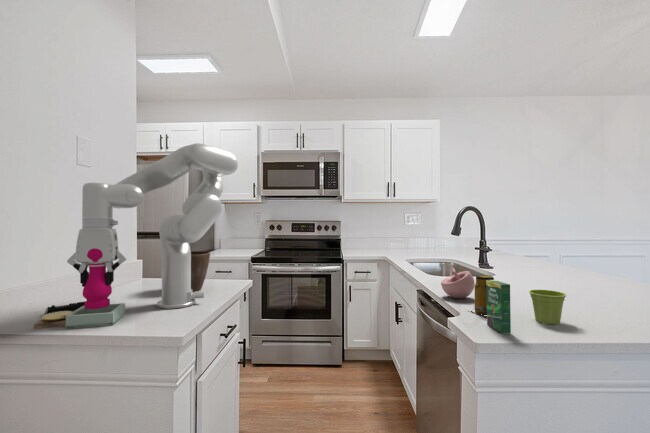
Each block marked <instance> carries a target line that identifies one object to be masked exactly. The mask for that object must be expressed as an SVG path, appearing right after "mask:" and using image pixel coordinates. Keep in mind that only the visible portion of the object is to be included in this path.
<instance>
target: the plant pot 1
mask: <svg viewBox="0 0 650 433" xmlns="http://www.w3.org/2000/svg"><path fill="white" fill-rule="evenodd" d="M210 258H211V252H210V251H207V250H192V251H191V289H192V292H194V291H197V292H200V291H202V288H203V285H204V282H205V280H206V276H207V273H208V268H209V265H210V264H209V263H210ZM199 290H200V291H199Z"/></svg>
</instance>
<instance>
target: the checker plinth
mask: <svg viewBox="0 0 650 433" xmlns="http://www.w3.org/2000/svg"><path fill="white" fill-rule="evenodd" d="M54 327H66V319H63V320H56V321H44V320H42V319H41V320H39V321H37V322H35V323H34V324H33V329H41V328H42V329H43V328H54Z"/></svg>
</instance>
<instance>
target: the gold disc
mask: <svg viewBox="0 0 650 433" xmlns="http://www.w3.org/2000/svg"><path fill="white" fill-rule="evenodd" d="M72 312H73V311H59V312H53V313H49V314H45V315H44V314H43V315H42V316H41V320H44V321H56V320H63V319H66V316H67V315H69V314H70V313H72Z"/></svg>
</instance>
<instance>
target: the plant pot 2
mask: <svg viewBox="0 0 650 433" xmlns="http://www.w3.org/2000/svg"><path fill="white" fill-rule="evenodd" d="M528 293H529V294H530V298H531V301H532V306H533V307H532V308H533V311H534V312H533V313H534V318H535V321H537V322H538V323H541V324H545V325H552V324H553V325H559V324H561V320H562V319H561V318H562V313H563V306H564V301H565V300H566V299H565V298H566V297H567V293H564V292H561V291H559V290H558V291H557V290H553V289H552V290H548V289H530V290H528Z"/></svg>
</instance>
